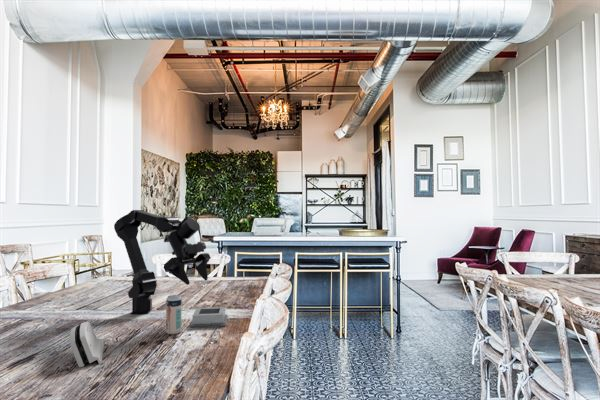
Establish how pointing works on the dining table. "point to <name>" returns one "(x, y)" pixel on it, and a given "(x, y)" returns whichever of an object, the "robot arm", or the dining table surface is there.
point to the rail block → (209, 317)
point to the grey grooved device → (86, 344)
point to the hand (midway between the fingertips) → (197, 282)
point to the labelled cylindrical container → (173, 314)
